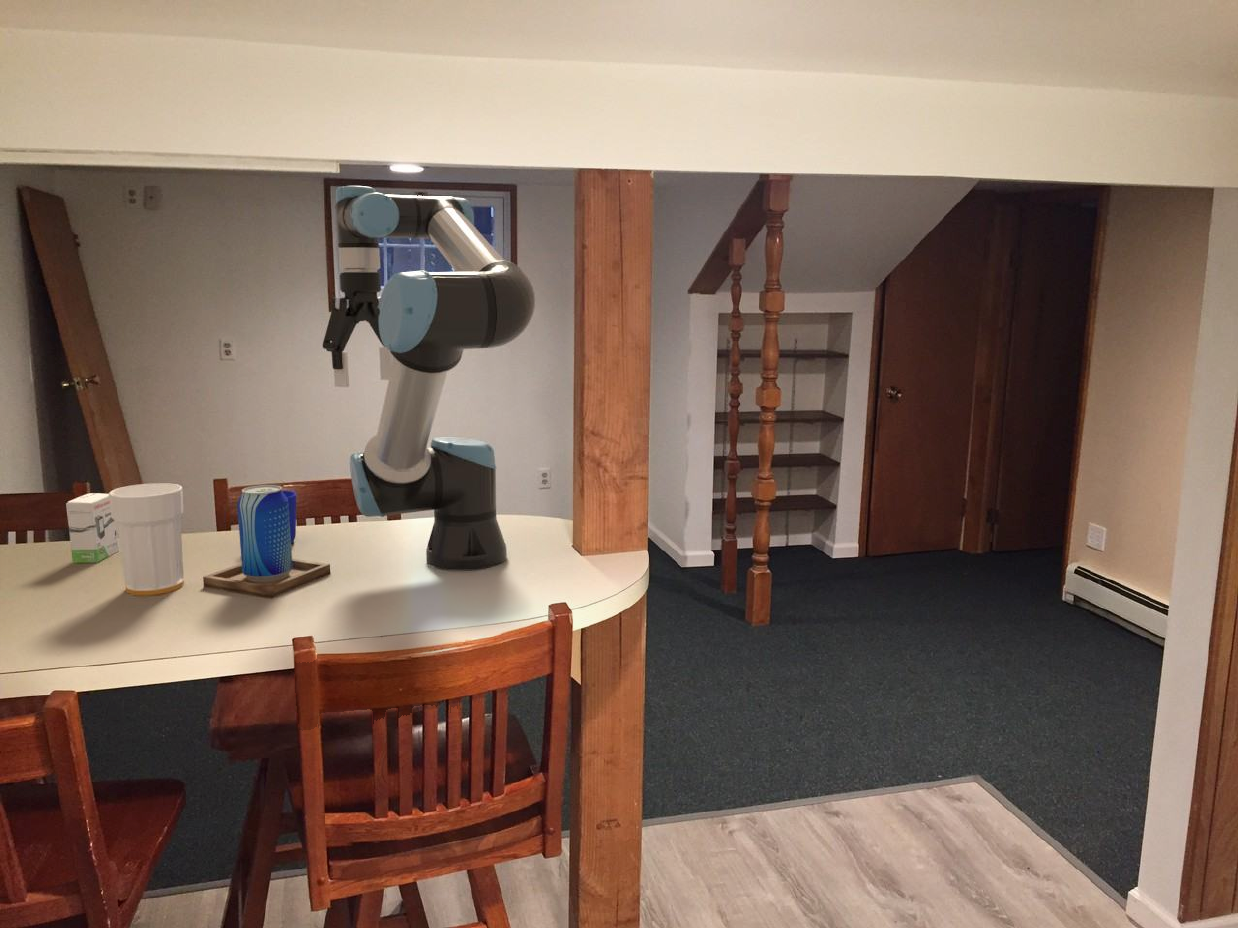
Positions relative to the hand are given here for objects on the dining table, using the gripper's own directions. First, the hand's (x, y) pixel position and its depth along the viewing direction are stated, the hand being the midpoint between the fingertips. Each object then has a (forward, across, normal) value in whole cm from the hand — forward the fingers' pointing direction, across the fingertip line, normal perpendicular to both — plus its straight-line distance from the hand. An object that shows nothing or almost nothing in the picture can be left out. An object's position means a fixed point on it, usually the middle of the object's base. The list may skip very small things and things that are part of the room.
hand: (365, 383), depth 189 cm
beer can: (+32, +25, -3) cm, 41 cm away
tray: (+33, +26, -3) cm, 42 cm away
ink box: (+33, +28, -44) cm, 62 cm away
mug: (+33, +4, -20) cm, 39 cm away
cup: (+33, +37, -18) cm, 52 cm away
